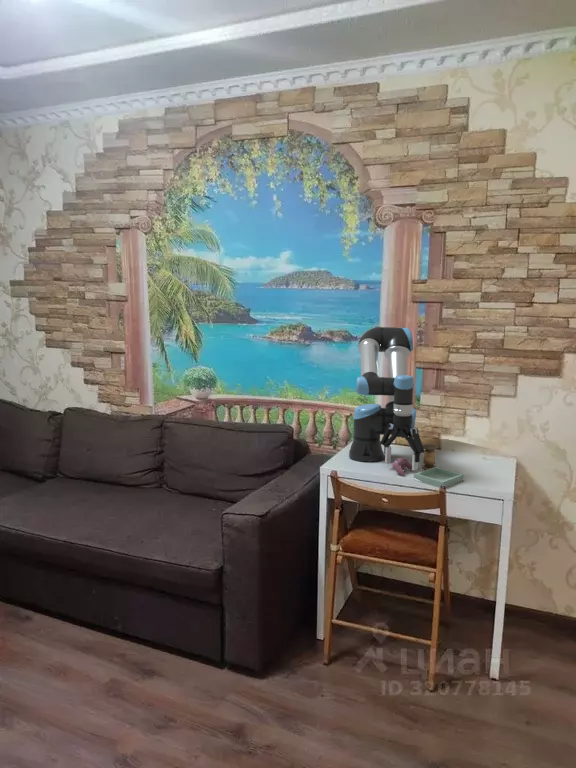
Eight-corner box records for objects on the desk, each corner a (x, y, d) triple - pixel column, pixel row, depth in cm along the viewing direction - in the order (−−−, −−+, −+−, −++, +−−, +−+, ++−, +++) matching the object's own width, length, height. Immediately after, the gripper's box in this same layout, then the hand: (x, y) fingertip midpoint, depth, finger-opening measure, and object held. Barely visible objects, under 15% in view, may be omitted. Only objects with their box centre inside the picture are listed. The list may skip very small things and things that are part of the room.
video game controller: (406, 472, 237) (400, 456, 238) (415, 469, 234) (409, 453, 235) (395, 478, 230) (388, 462, 231) (404, 475, 227) (397, 459, 228)
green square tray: (413, 479, 223) (414, 473, 223) (435, 472, 232) (435, 466, 232) (442, 488, 214) (442, 482, 213) (463, 480, 223) (463, 474, 222)
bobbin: (418, 468, 237) (419, 445, 236) (427, 465, 241) (428, 442, 240) (430, 472, 233) (431, 448, 231) (439, 469, 237) (440, 445, 235)
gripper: (372, 410, 236) (371, 461, 239) (423, 420, 217) (421, 474, 220) (384, 408, 241) (383, 458, 244) (434, 417, 222) (432, 471, 225)
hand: (401, 466), depth 232 cm, fingers open, 13 cm apart
